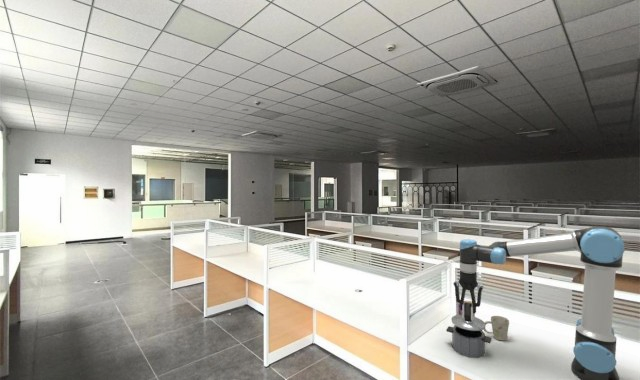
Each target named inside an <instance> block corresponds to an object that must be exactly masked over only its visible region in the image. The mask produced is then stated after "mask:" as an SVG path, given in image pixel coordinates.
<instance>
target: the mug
mask: <svg viewBox="0 0 640 380" xmlns="http://www.w3.org/2000/svg"><path fill="white" fill-rule="evenodd" d="M484 323H485V326H486V325H488V324H491V328H492V331H488V330H487V329H486V328H485V329H483V330H482V331H483V332H484V333H485V334H486V333H487V334H491V335H492V336H493V338H494V339H495V340H499V341H502V342H503V341H506V340H507V339H508V332H509V327H510V326H509V325H510V320H509V319H508V318H507V317H504V316H501V315H493V316H490V320H486V321H484Z"/></svg>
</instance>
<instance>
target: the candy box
mask: <svg viewBox="0 0 640 380" xmlns="http://www.w3.org/2000/svg"><path fill="white" fill-rule="evenodd" d="M465 302H469V303H471V304H472V300H464V303H465ZM455 313H456V314H455V315H462V310H460V303H458V302H456V301H455ZM475 314H476V313H474V317H476V315H475Z"/></svg>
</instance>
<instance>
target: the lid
mask: <svg viewBox="0 0 640 380" xmlns="http://www.w3.org/2000/svg"><path fill="white" fill-rule="evenodd" d="M471 306H472V304H471V303H469V302H465V318H462V315H456V314H455V315H453V316H451V323H452V324H453V325H454V326H457V327H459V328H462V329H465V330H470V331H480V330H482V331H484V330H483V329H486V325H485V323H484V322H485V321H483V320H482V319H481V318H478V317H476V316H475V317H474V319H473V320H471Z"/></svg>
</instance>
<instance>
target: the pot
mask: <svg viewBox="0 0 640 380" xmlns="http://www.w3.org/2000/svg"><path fill="white" fill-rule="evenodd" d="M445 329H446V332H447V333H451V334H452V335H451V336H452V337H451V342H452V343H451V344H452V345H451V346H452V349H453V351H454V352H456V353H458V355H461V356H463V357H464V356H465V357H467V358H474V359H479V358H483V357H485V354H486V344H491V342H492V339H493V338H492V337H490V336H487V335H486V332H485V331H484V330H480V331H470V330H465V329H462V328H459V327H457V326H455V325H454V326H450V325H449V326H448V327H447V328H445Z"/></svg>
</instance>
